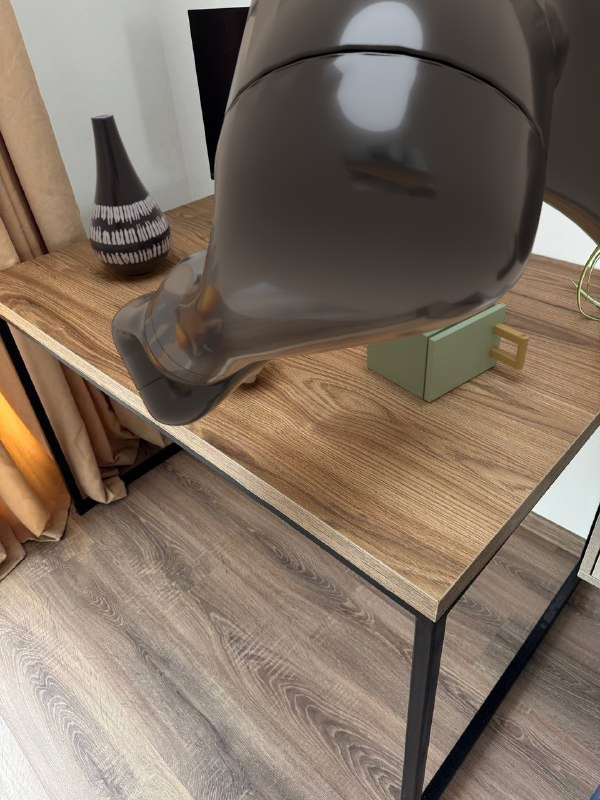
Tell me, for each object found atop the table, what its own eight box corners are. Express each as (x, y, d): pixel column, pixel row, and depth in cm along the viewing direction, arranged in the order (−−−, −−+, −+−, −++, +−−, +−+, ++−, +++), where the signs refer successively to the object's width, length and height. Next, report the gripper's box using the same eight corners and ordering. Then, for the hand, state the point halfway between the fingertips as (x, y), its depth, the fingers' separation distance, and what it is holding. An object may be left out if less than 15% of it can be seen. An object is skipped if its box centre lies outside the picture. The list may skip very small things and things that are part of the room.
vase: (192, 267, 121) (163, 111, 103) (123, 294, 113) (79, 130, 95) (152, 248, 131) (120, 102, 113) (86, 271, 123) (41, 118, 105)
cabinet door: (526, 379, 82) (538, 318, 77) (458, 420, 76) (466, 357, 70) (491, 361, 87) (500, 302, 81) (423, 399, 80) (428, 338, 74)
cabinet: (486, 360, 87) (495, 300, 81) (422, 399, 81) (427, 336, 75) (429, 333, 94) (434, 276, 88) (366, 367, 88) (367, 307, 82)
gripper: (388, 276, 47) (512, 221, 55) (279, 231, 56) (399, 190, 64) (385, 355, 51) (500, 294, 59) (284, 302, 61) (396, 255, 69)
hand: (447, 240), depth 62 cm, fingers closed on can, 6 cm apart
